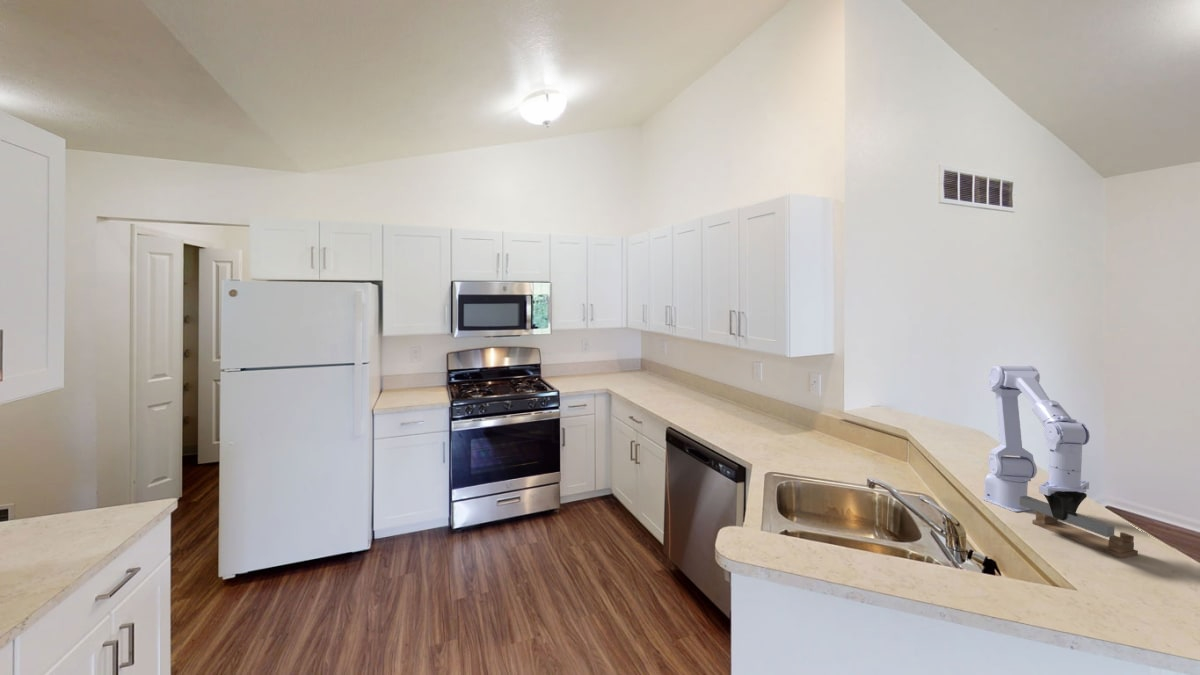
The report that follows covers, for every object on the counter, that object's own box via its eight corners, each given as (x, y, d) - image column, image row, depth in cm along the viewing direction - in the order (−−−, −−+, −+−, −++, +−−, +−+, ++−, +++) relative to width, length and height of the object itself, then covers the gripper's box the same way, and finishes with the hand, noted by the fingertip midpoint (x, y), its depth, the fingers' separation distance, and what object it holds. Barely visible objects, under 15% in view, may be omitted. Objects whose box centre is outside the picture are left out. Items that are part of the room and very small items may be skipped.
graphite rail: (1019, 504, 121) (1019, 496, 121) (1026, 503, 121) (1026, 495, 121) (1107, 537, 103) (1107, 527, 103) (1114, 535, 104) (1114, 526, 104)
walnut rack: (1032, 523, 122) (1032, 507, 122) (1047, 520, 124) (1048, 505, 123) (1120, 558, 105) (1121, 540, 104) (1137, 554, 106) (1138, 536, 106)
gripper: (1063, 476, 106) (1061, 529, 107) (1105, 469, 109) (1103, 521, 110) (1029, 466, 113) (1028, 516, 114) (1070, 460, 116) (1068, 509, 117)
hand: (1062, 517), depth 112 cm, fingers closed on graphite rail, 2 cm apart
